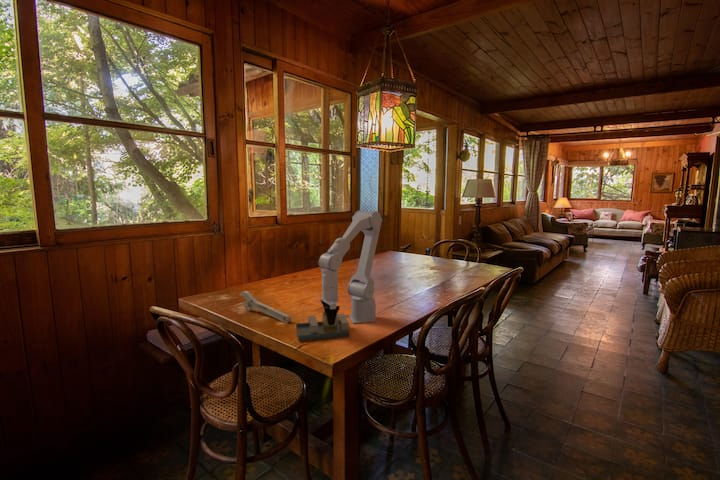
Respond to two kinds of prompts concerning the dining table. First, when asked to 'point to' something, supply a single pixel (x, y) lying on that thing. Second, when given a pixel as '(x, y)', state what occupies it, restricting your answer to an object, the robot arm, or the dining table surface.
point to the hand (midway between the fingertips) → (330, 321)
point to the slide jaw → (313, 324)
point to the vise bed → (306, 335)
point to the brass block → (325, 323)
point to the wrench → (263, 307)
